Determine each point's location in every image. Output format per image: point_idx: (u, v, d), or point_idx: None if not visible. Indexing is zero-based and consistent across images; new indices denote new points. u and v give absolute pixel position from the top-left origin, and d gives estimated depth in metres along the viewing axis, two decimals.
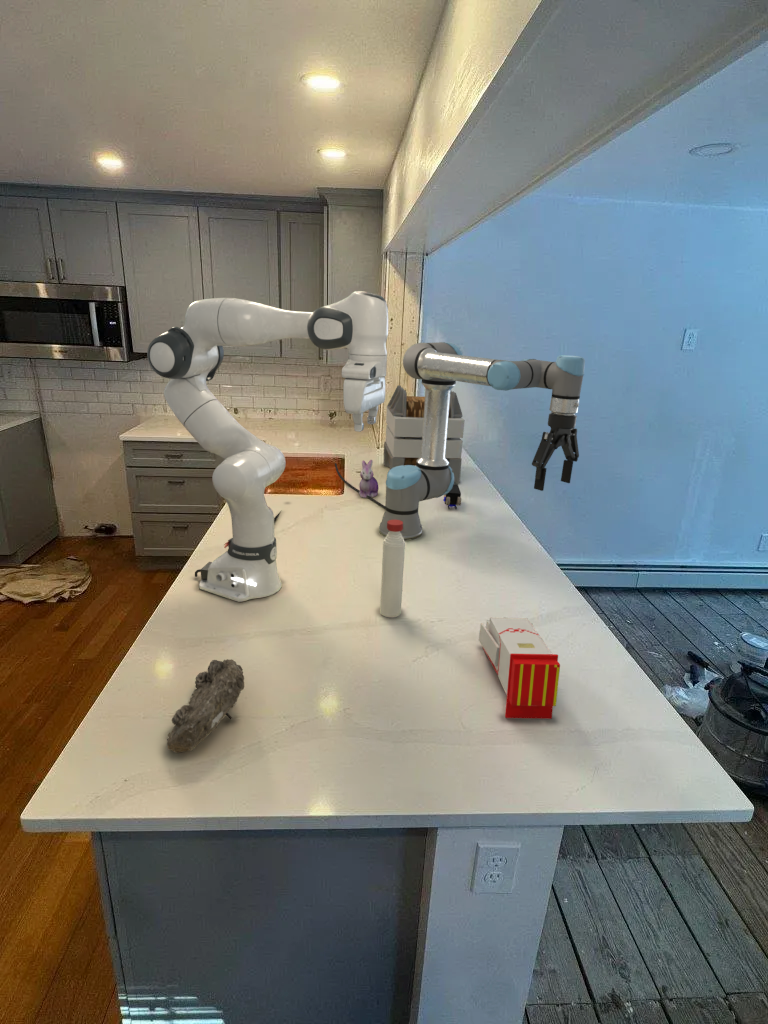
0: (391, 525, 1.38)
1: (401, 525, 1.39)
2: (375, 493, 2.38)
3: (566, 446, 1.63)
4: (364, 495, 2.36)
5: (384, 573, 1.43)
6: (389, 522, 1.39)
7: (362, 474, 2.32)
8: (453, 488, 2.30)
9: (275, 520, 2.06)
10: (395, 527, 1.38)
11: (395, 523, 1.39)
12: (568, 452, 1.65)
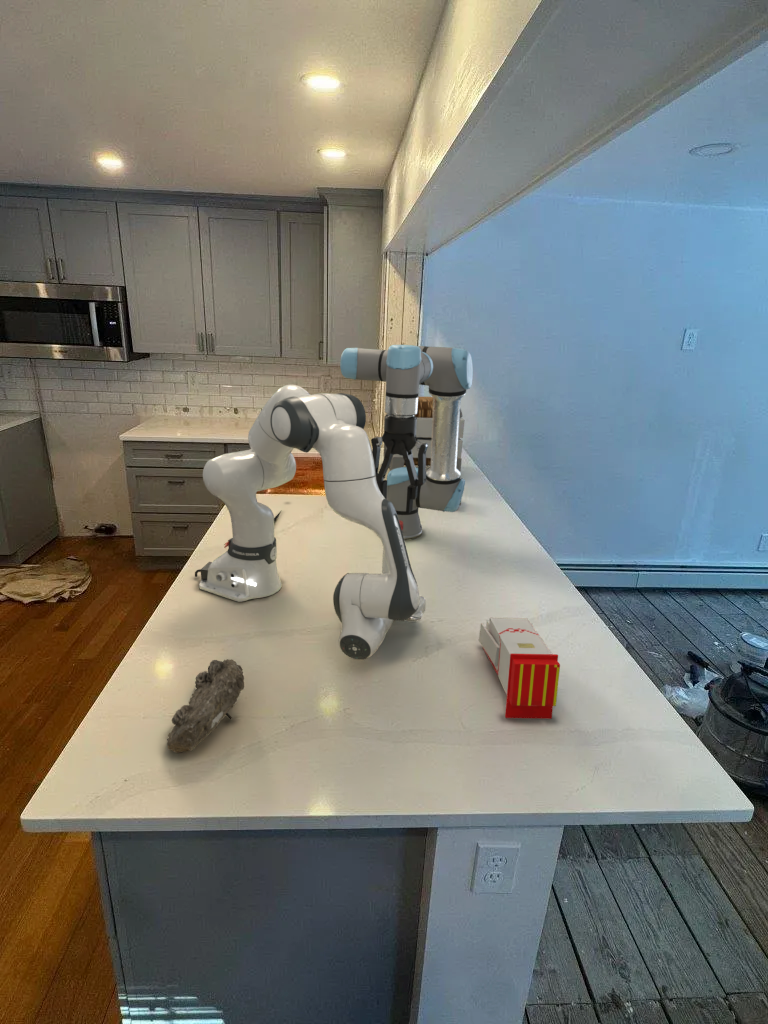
0: None
1: (401, 525, 1.39)
2: None
3: (391, 456, 1.35)
4: None
5: (384, 573, 1.43)
6: None
7: None
8: None
9: (275, 520, 2.06)
10: None
11: None
12: (388, 466, 1.36)
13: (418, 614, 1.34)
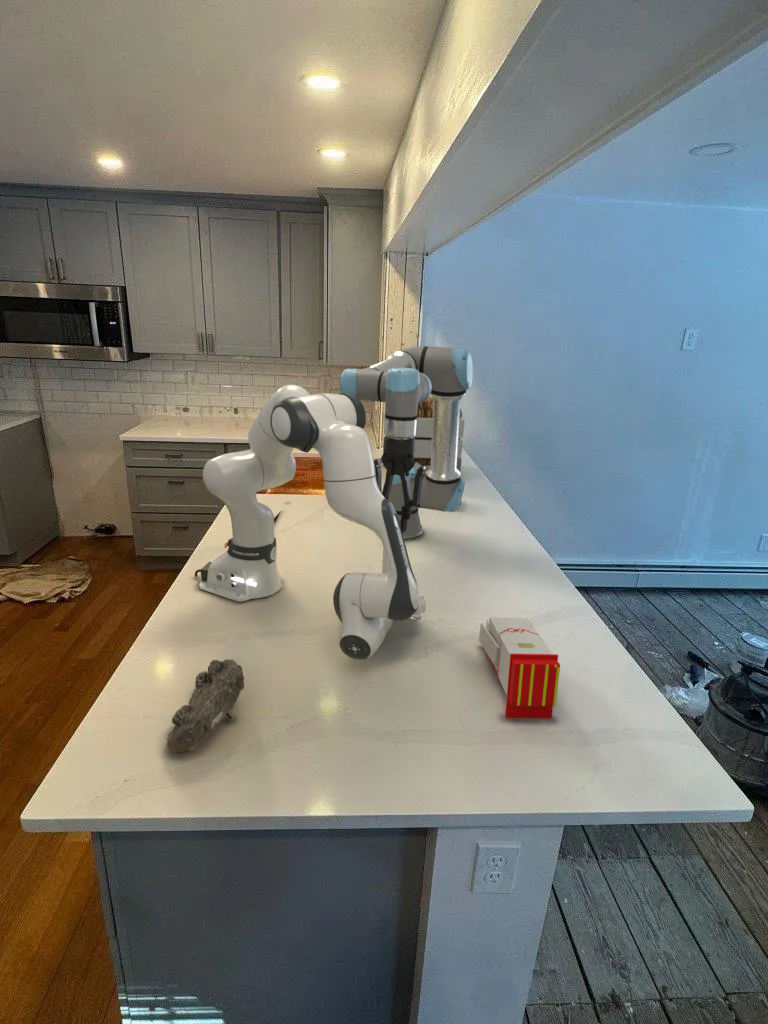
0: None
1: None
2: None
3: (392, 477, 1.37)
4: None
5: (384, 573, 1.43)
6: None
7: None
8: None
9: (275, 520, 2.06)
10: None
11: None
12: (390, 487, 1.38)
13: (418, 614, 1.34)
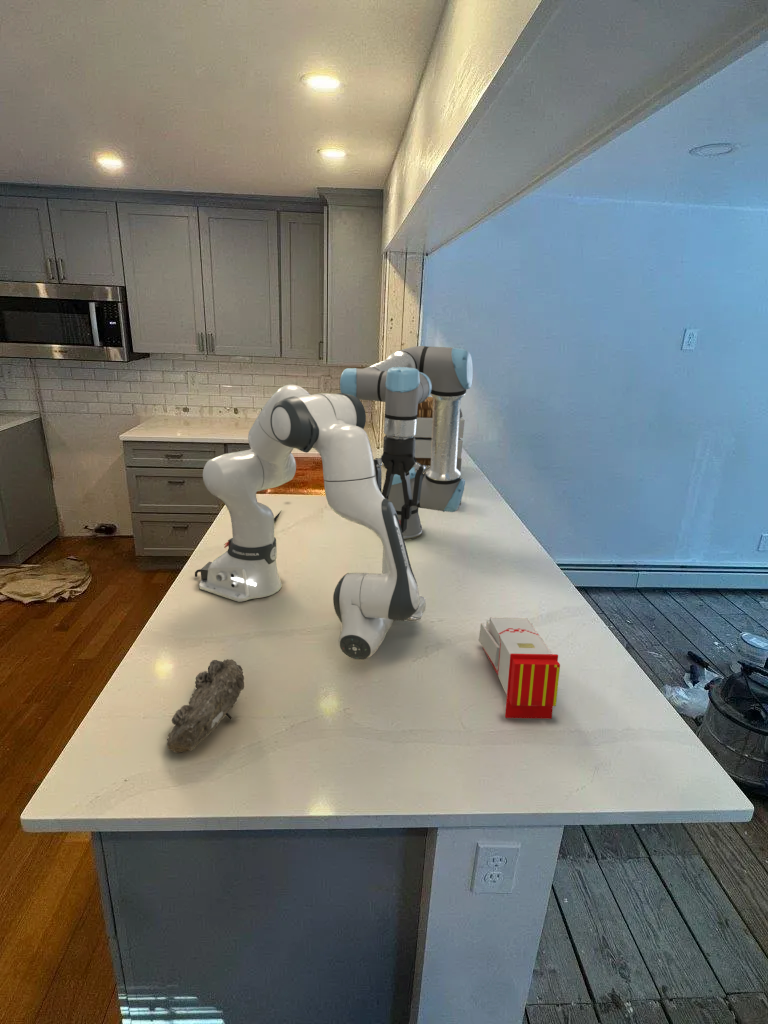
0: None
1: None
2: None
3: (392, 477, 1.37)
4: None
5: (384, 573, 1.43)
6: None
7: None
8: None
9: (275, 520, 2.06)
10: None
11: None
12: (390, 487, 1.38)
13: (418, 614, 1.34)
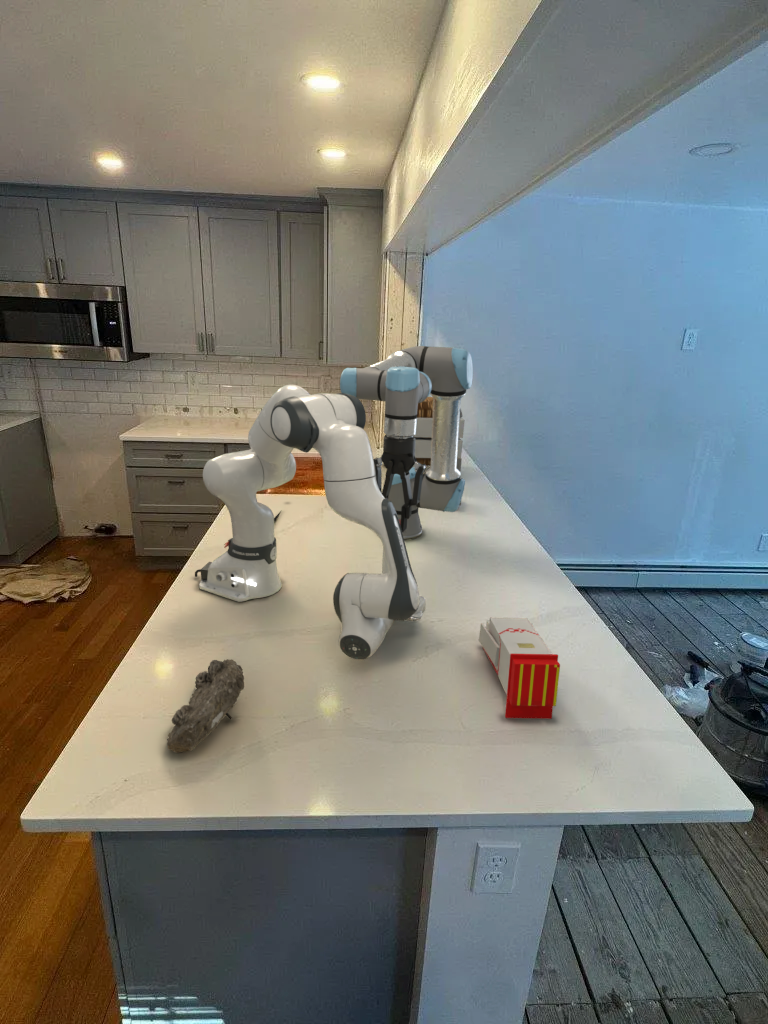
0: None
1: None
2: None
3: (392, 476, 1.37)
4: None
5: (384, 573, 1.43)
6: None
7: None
8: None
9: (275, 520, 2.06)
10: None
11: None
12: (390, 486, 1.38)
13: (418, 614, 1.34)
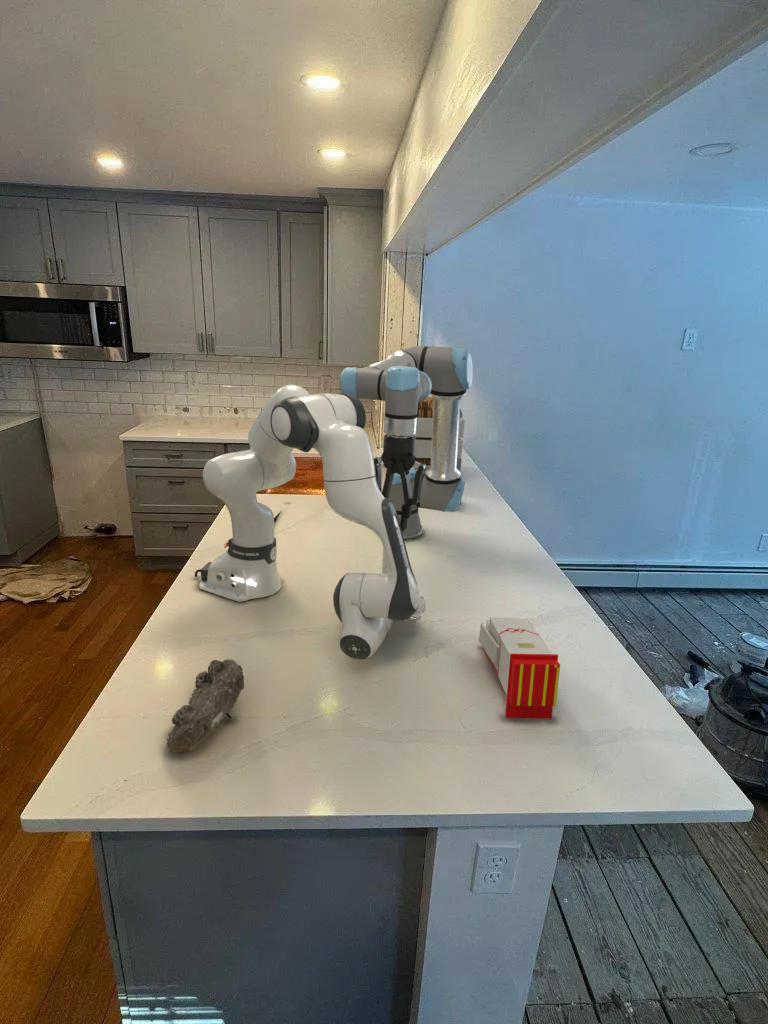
0: None
1: None
2: None
3: (392, 476, 1.37)
4: None
5: (384, 573, 1.43)
6: None
7: None
8: None
9: (275, 520, 2.06)
10: None
11: None
12: (390, 486, 1.38)
13: (418, 614, 1.34)
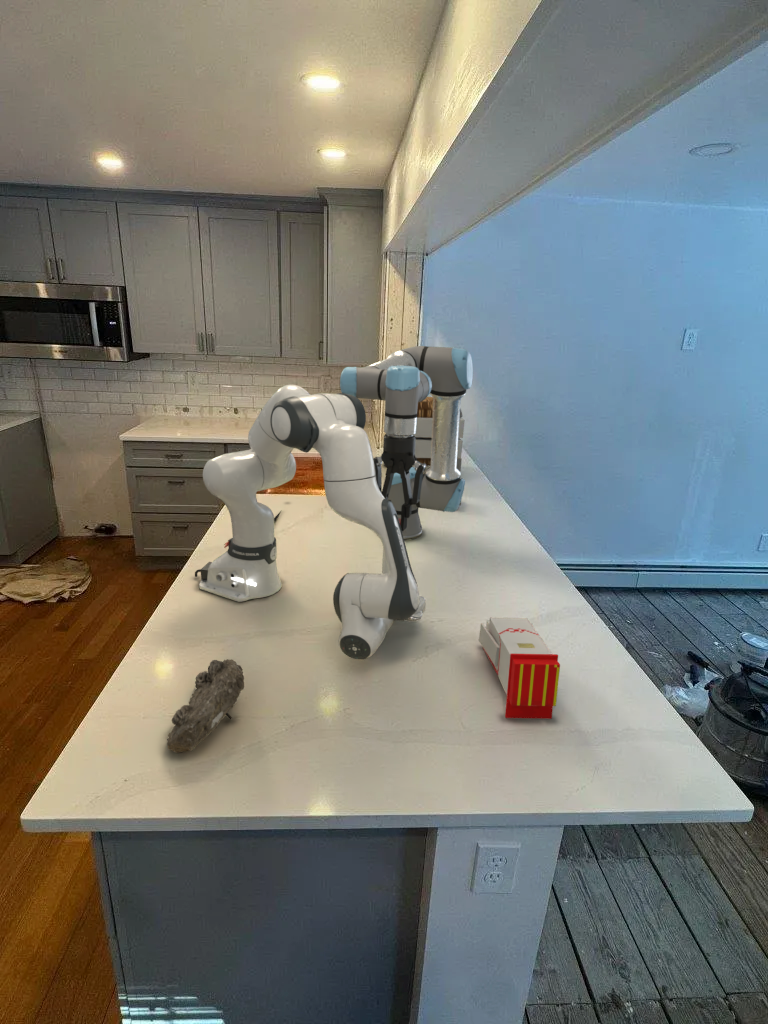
0: None
1: None
2: None
3: (392, 475, 1.37)
4: None
5: (384, 573, 1.43)
6: None
7: None
8: None
9: (275, 520, 2.06)
10: None
11: None
12: (390, 485, 1.38)
13: (418, 614, 1.34)
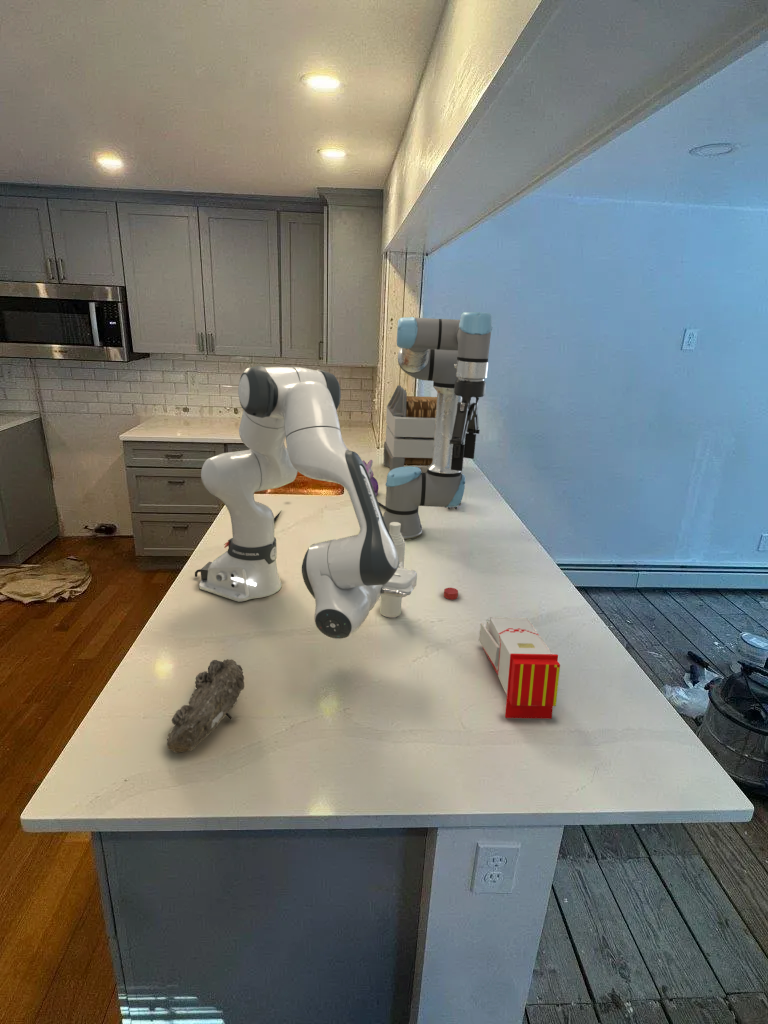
0: (457, 593, 1.57)
1: None
2: (375, 493, 2.38)
3: None
4: None
5: None
6: (452, 593, 1.56)
7: None
8: None
9: (275, 520, 2.06)
10: None
11: (454, 590, 1.57)
12: None
13: (408, 589, 1.17)
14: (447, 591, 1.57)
